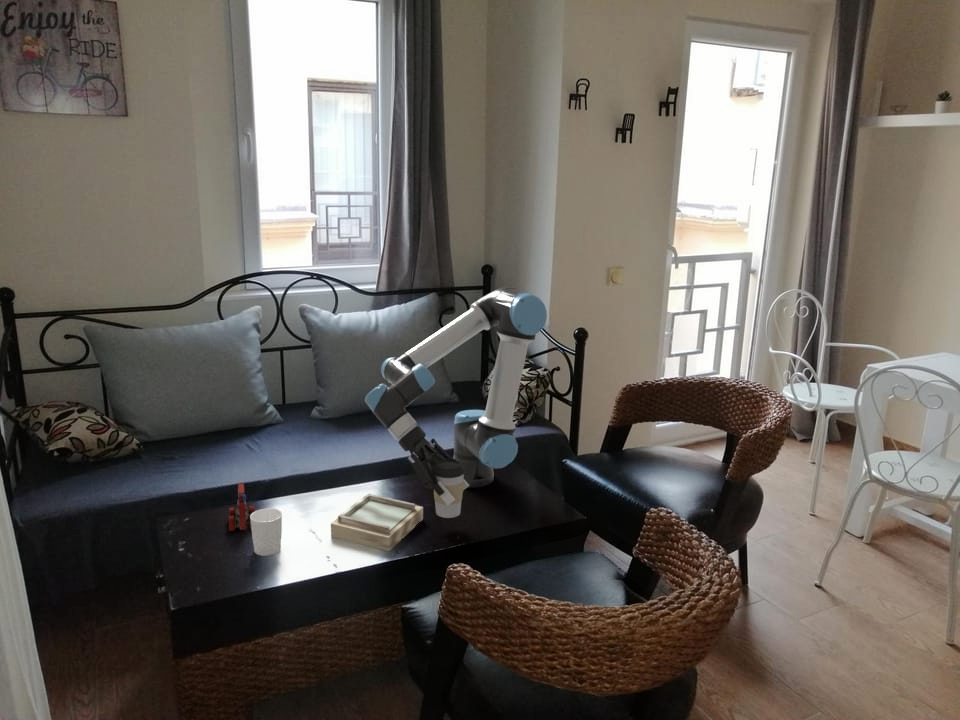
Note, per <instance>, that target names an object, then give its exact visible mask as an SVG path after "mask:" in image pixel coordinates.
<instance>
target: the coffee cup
mask: <svg viewBox="0 0 960 720" xmlns="http://www.w3.org/2000/svg"><path fill="white" fill-rule="evenodd" d="M452 458H453V457H452ZM452 458H448V459H445V460H442V461H439V462H437V463H435V464H434V465H433V466H432V469H433V472H434V474H435V476H436V479H437V481H438V482H439V481H441V483H442V484H443V485H444V486H445V488H446V489H447V490H448V491H449V492H450V494H451V495H452V496H453V497H454V499H455V500H454V501H453V502H452V503H450V504H449V505H447V504H446V503H445V502H444V501H443V499H442V498H441V497H440V496H439V495H438V494H437V493H436V492H435V490H434V489H433V497H434V504H435V514H436V516H438V517H441V518H445V519H450V518H451V519H452V518H456V517H459V516H460V515H461V511H462V510H461V509H462V500H463V493H464V490H463V484H464V479H463V478H464V473H465V470H464V469H465V468H464V466H463V465H461V464H460V463H459V462H458V461H456V460H455V459H452Z"/></svg>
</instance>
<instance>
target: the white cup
mask: <svg viewBox="0 0 960 720" xmlns="http://www.w3.org/2000/svg"><path fill="white" fill-rule="evenodd" d="M282 518H283V515H282V511H281V510H279V509H277V508H272V507H271V508H269V507H268V508H261V509H257V510H255V512H253V513H252V514H251V515H250V520H251V530H250V531H251V538H252V543H253V551H254V553H255V554H256V555H257V556H261V557H266V556H267V557H269V556H273V555H275V554H278V553H279V552H280V551H281V549H282V547H281V546H282V528H283V527H282V524H283V523H282V522H283V519H282Z"/></svg>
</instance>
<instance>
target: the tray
mask: <svg viewBox="0 0 960 720" xmlns="http://www.w3.org/2000/svg"><path fill="white" fill-rule="evenodd" d="M423 520H424V507H423V506H420V505H417V504H416V503H413V502H408V501H403V500H399V499H394V498H390V497H385V496H383V495H382V496H380V495H376V494H373V493H367V494H365V495H364V496H363V497H362V498H360V499H359V500H358V501H357V502H355V503H354V504H352V505H351V506H350V507H348V508H347V509H345V510H343V512H342V513H340V514H339V515H338V516H337V518H336V519H335V520H333V521H332V522H331V523H330V537H331V538H334V537H335V539H339V540H342V539H343V541H347V542H350V543H353V544H354V543H355V544H359V545H363V546H366V547H371V548H375V549H378V550H382V551H386V552H390V551H391V550H392V549H393V548H395V546H396V545H397V544H398V543H400V542H401V541H402V540H403V539H404V538H405V537H406V536H408V535H409V533H411V531H413V530H414V528H416V527H417V526H418V525H419V524H420V523H421V522H422V521H423ZM419 522H420V523H419ZM418 523H419V524H418ZM417 524H418V525H417ZM416 525H417V526H416ZM415 526H416V527H415ZM402 538H403V539H402ZM401 539H402V540H401Z"/></svg>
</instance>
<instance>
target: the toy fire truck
mask: <svg viewBox="0 0 960 720" xmlns="http://www.w3.org/2000/svg"><path fill="white" fill-rule="evenodd" d="M237 496H238V497H237V498H238V499H237V502H236V503H237V507H236V508H235V507H230V508H228V531H229V532H235V531H236V529H237V528H239V530H240V531H243V530H246V529H247V526H246V525H248V526H249V527H248V528H249V529H251V520H250V515H251V514H252V513H253V512H255V511H256V510H255V505H249V506H247V505H246V504H247V502H246V500H247V495H246V494H245V484H244V483H238V484H237Z"/></svg>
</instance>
